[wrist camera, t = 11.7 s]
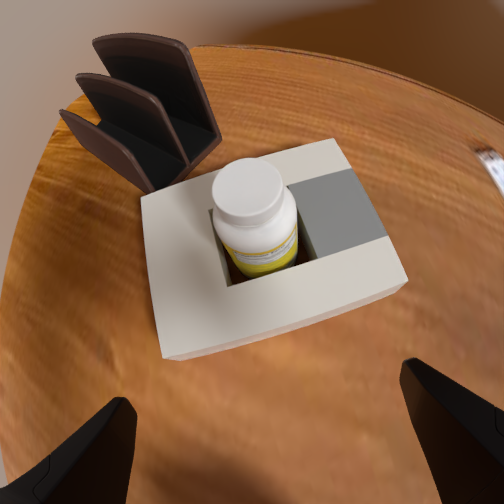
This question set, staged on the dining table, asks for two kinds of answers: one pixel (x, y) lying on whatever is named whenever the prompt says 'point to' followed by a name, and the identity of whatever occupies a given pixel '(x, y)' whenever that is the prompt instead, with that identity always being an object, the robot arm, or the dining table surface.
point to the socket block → (273, 285)
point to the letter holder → (146, 110)
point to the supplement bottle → (255, 217)
